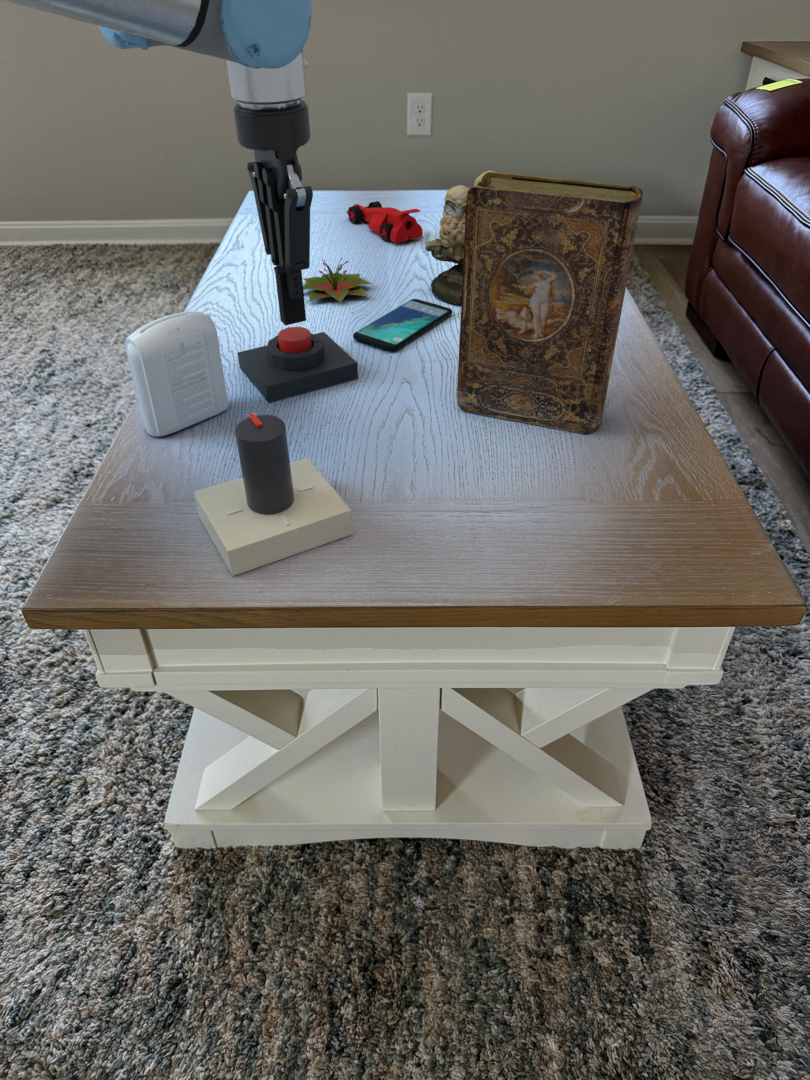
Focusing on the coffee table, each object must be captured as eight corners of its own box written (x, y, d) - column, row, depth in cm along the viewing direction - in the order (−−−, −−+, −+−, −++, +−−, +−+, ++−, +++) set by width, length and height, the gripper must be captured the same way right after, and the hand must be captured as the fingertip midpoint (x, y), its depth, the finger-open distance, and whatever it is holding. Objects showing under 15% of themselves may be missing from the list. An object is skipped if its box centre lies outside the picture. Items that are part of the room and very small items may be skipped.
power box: (268, 402, 94) (264, 372, 91) (239, 368, 100) (235, 339, 98) (358, 378, 98) (357, 349, 95) (325, 346, 105) (322, 318, 102)
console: (232, 576, 70) (227, 550, 68) (198, 516, 77) (192, 490, 75) (352, 534, 75) (351, 508, 73) (310, 480, 81) (307, 455, 79)
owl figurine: (419, 306, 114) (420, 182, 103) (429, 275, 123) (431, 158, 112) (544, 313, 112) (558, 188, 101) (545, 281, 121) (558, 162, 110)
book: (604, 412, 92) (646, 186, 75) (596, 436, 88) (638, 204, 71) (469, 388, 96) (481, 170, 80) (456, 410, 92) (465, 186, 76)
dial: (301, 505, 73) (292, 429, 68) (257, 520, 72) (244, 443, 66) (283, 481, 76) (273, 406, 71) (240, 494, 75) (227, 419, 69)
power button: (286, 357, 95) (285, 344, 94) (274, 344, 97) (272, 331, 96) (317, 349, 96) (315, 336, 95) (304, 337, 99) (302, 324, 98)
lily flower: (299, 311, 113) (296, 280, 110) (292, 279, 122) (289, 249, 119) (381, 303, 115) (380, 273, 112) (368, 273, 124) (367, 243, 121)
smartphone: (454, 308, 112) (393, 348, 102) (454, 313, 112) (393, 353, 103) (413, 297, 115) (350, 334, 105) (413, 302, 115) (350, 339, 106)
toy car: (369, 212, 147) (369, 183, 143) (423, 239, 135) (423, 209, 132) (342, 218, 144) (340, 189, 141) (394, 246, 133) (394, 216, 130)
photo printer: (215, 396, 95) (197, 297, 87) (235, 409, 92) (219, 309, 84) (138, 428, 89) (112, 326, 81) (158, 443, 87) (133, 339, 79)
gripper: (331, 109, 76) (344, 334, 92) (280, 85, 85) (300, 295, 100) (258, 118, 74) (285, 349, 89) (213, 93, 82) (245, 307, 98)
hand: (293, 320), depth 95 cm, fingers closed
